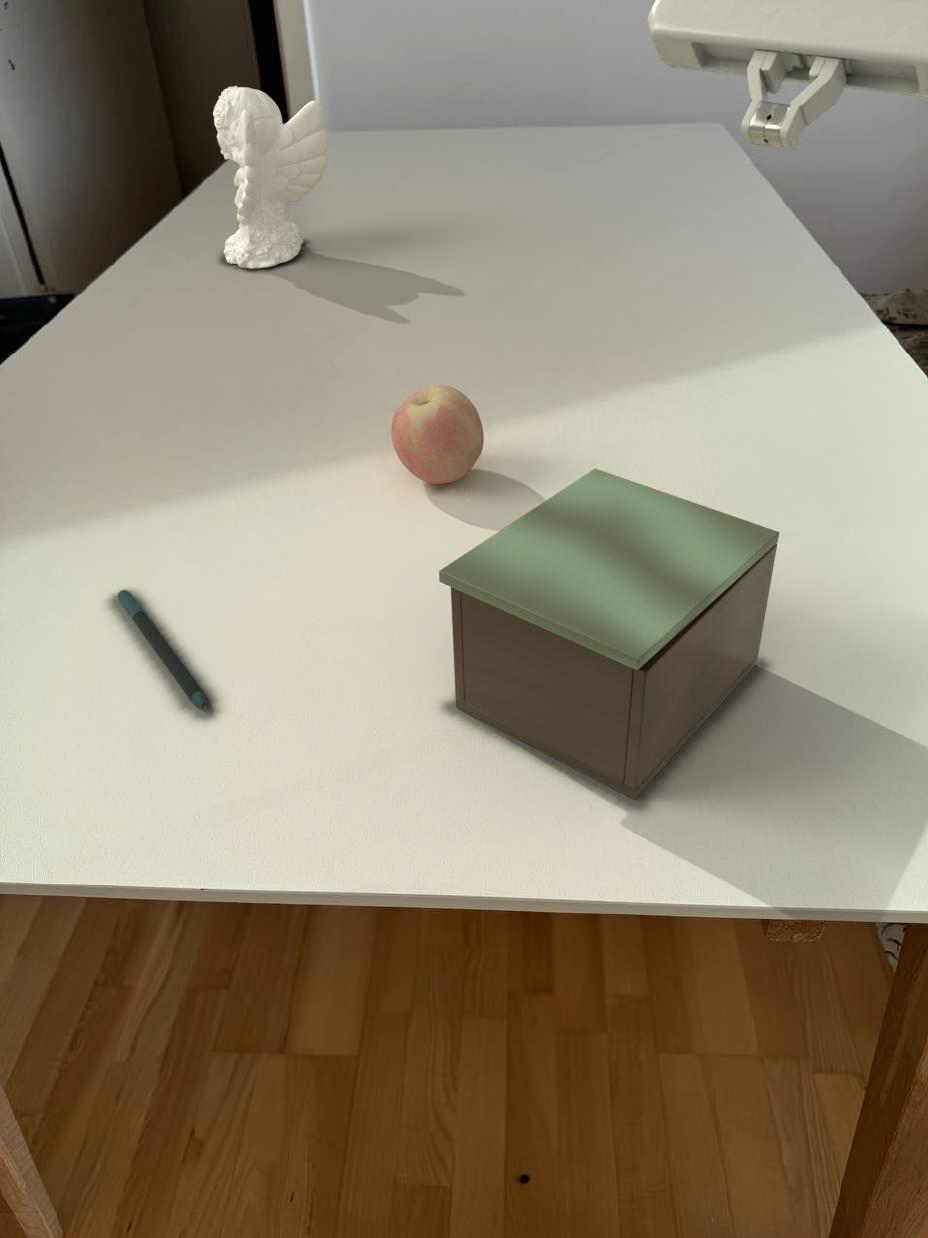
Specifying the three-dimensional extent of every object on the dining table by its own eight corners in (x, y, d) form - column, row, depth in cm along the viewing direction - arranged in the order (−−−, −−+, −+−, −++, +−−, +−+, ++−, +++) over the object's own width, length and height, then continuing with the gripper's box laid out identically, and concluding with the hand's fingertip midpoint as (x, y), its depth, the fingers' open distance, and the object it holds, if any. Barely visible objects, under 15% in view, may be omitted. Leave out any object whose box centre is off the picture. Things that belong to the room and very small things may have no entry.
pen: (200, 700, 71) (216, 701, 72) (118, 586, 82) (132, 588, 82) (194, 714, 71) (210, 715, 72) (113, 599, 82) (128, 601, 83)
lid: (637, 671, 57) (638, 658, 57) (438, 581, 64) (438, 570, 64) (777, 542, 68) (780, 531, 68) (594, 478, 75) (594, 467, 75)
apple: (426, 447, 100) (422, 365, 95) (500, 466, 97) (499, 382, 92) (377, 486, 94) (370, 401, 89) (454, 508, 91) (450, 421, 86)
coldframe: (634, 800, 64) (646, 672, 59) (455, 707, 71) (449, 584, 66) (756, 664, 74) (778, 543, 68) (588, 594, 81) (594, 478, 75)
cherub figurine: (284, 230, 150) (264, 70, 138) (343, 250, 143) (328, 83, 131) (205, 255, 143) (176, 89, 131) (263, 277, 136) (239, 103, 124)
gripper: (690, -128, 65) (591, 84, 65) (1057, -122, 54) (938, 131, 54) (718, -49, 70) (627, 147, 70) (1056, -29, 60) (949, 201, 59)
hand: (765, 140), depth 62 cm, fingers closed
